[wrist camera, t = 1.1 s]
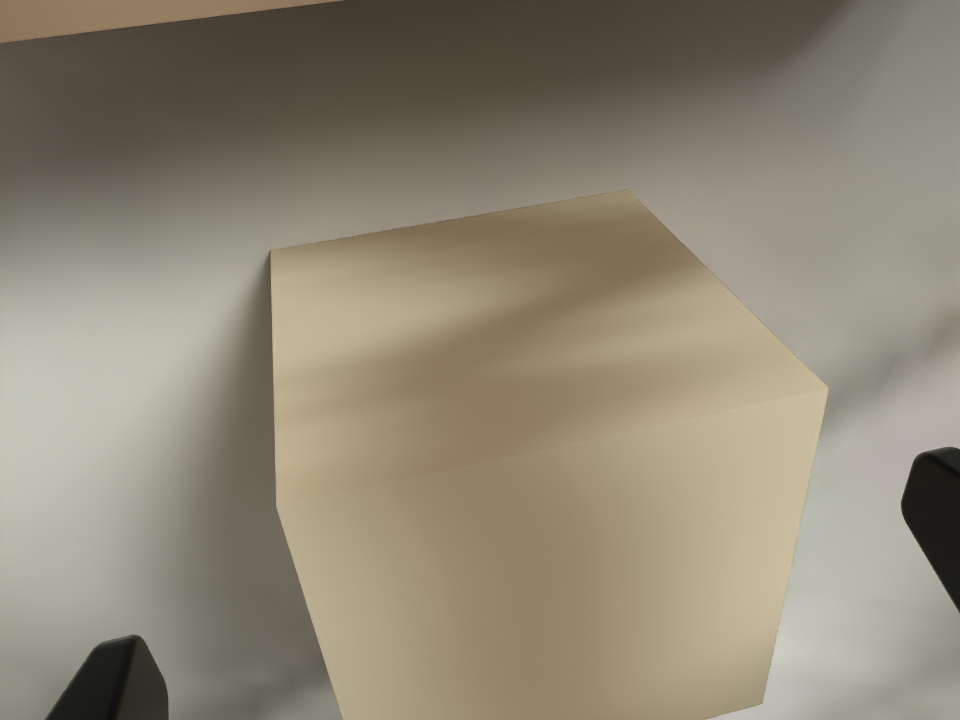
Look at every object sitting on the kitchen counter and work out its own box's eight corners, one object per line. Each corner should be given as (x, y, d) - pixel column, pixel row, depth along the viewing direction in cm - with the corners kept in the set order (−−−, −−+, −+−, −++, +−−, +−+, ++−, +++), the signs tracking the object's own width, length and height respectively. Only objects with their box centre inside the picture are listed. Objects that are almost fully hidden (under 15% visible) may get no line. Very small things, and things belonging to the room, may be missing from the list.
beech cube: (625, 187, 11) (828, 388, 7) (618, 452, 14) (761, 704, 10) (270, 248, 11) (276, 506, 7) (337, 514, 13) (370, 810, 9)
